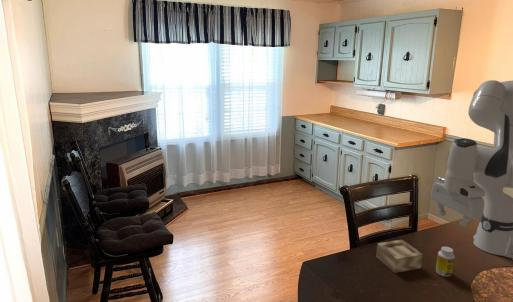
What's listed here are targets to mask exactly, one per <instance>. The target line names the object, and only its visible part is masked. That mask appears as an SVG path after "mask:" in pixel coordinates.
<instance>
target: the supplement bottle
mask: <svg viewBox="0 0 513 302" xmlns="http://www.w3.org/2000/svg"><path fill="white" fill-rule="evenodd" d="M455 257H456V256H455V254H454V249H453V248H451V247H449V246H442V247H441V248H440V250H439V251H438V252H437V259H436V264H435V272H436V274H437V275H440V276H441V277H451V276H452V274H453V269H454V263H455V259H456V258H455Z"/></svg>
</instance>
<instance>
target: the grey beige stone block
mask: <svg viewBox="0 0 513 302" xmlns="http://www.w3.org/2000/svg"><path fill="white" fill-rule="evenodd" d="M375 253H376V255H375V257H376V258H377V259H378V260H380V261H381V262H382V263H383V264H384V265H385V266H386V267H387V268H389V269H390V270H391V271H392V272H393V273H394V274H396V273H403V272H407V271H413V270H418V269H421V268H422V264H423V256H424V254H423V253H422V252H420V251H419V250H418V249H416V248H415V247H413V246H412V245H411V244H410V243H408V242H406V241H405V240H403V239H398V240H390V241H384V242H378V243H377V244H376V252H375Z"/></svg>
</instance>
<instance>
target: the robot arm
mask: <svg viewBox="0 0 513 302" xmlns="http://www.w3.org/2000/svg"><path fill="white" fill-rule="evenodd" d="M467 112H468V117H469V118H470V120H471V121H472V122H473V123H474V125H477V126H479V127H481V128H484V129H486V130H489V131H490V132H492V133H493V135H494V136H493V147H491V148H490V147H482V146H478V143H477V141H475V140H473V139H470V138H456V139H454V140H453V141H452V143H451V145H450V148H449V151H448V153H447V159H446V166H447V169H446V172H445V175H444V178H442V177H440V176H439V177H436V178H435V179H434V182H433V185H432V188H431V192H430V198H431V201H434V202H436V203H437V208H438V210H439V211H438V214H439V216H442V217H444V216H446V213H447V211H446V210H445V207H447V208H448V209H450V210H452V211H454V212H456V213H458V214H460V215H462V218H463V219H462V220H459V224H458V225H459V226H460V227H463V228H466V227H467V225H468V223H469V221H470V220H480V222H479V224H478V226H477V229H476V232H475V234H474V235H473V244H474V246H475V247H476V248H478V249H480V250H481V251H484V252H486V253H488V254H490V255H491V254H492V255H496V256H502V257H506V258H509V259H513V196H510V194H508V193H505V192H504V188H510V189H513V80H507V81H506V80H505V81H498V80H496V79H495V80H494V79H492V80H486V81H483V82H482V83H481V84H480V85H479V87H477V89H476V90H475V91H474V92H473V95H472V99H471V101H470V102H469V107H468V111H467ZM484 198H485V199H484Z"/></svg>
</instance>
